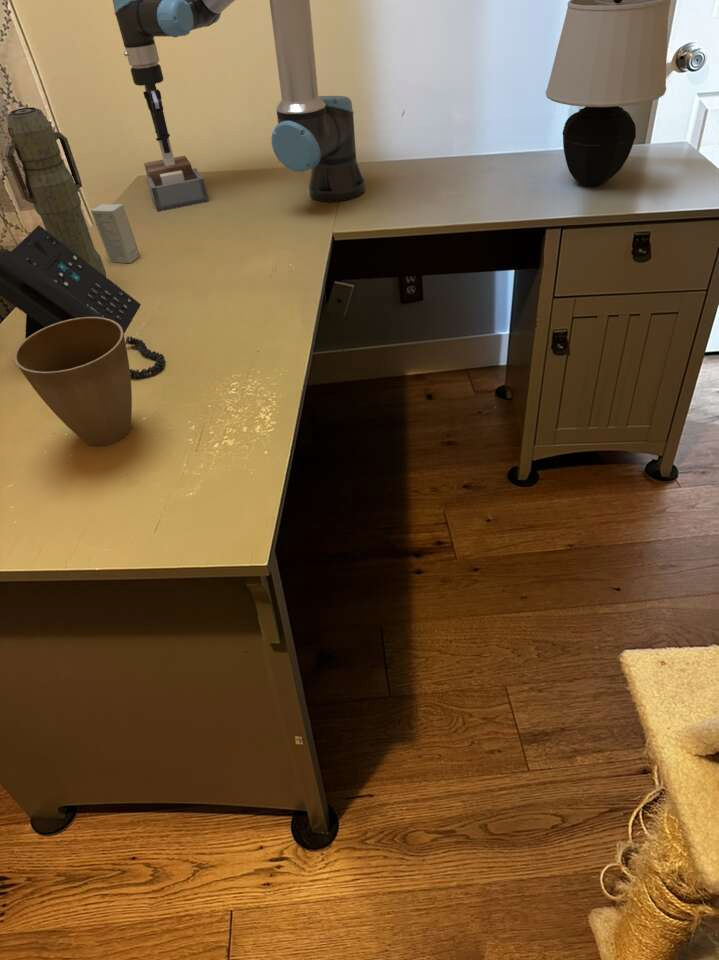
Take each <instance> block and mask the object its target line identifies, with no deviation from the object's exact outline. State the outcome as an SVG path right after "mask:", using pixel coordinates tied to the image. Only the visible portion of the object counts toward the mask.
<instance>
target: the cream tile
mask: <svg viewBox="0 0 719 960" xmlns="http://www.w3.org/2000/svg"><path fill="white" fill-rule="evenodd" d="M160 178H161V181H162V185H166V184H171V183H176V182H182V181H185V180H184V176H183V172H182V171H181V170H180V171H175V172H170V173H164V174H160Z"/></svg>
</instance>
